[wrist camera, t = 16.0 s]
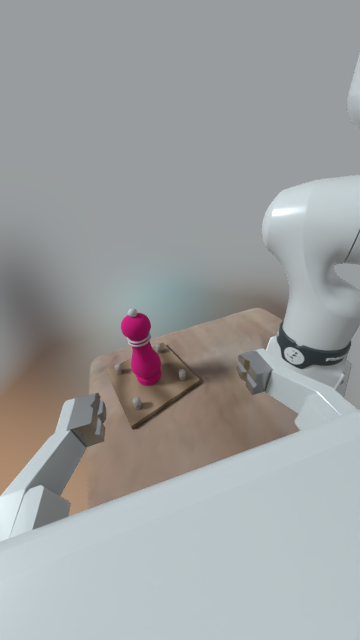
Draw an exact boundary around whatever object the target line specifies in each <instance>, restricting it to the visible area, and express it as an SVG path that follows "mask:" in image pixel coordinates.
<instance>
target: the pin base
mask: <svg viewBox="0 0 360 640" xmlns="http://www.w3.org/2000/svg"><path fill="white" fill-rule="evenodd" d="M153 349H154V350H155V351H156V352H157V353H158V355H159V357H160V360H161V367H160V369H161V377H160V379H159V380H158V381H157V382H156V383H155V384H153V385H149V386H145V385H142V384H140V383H139V382H138V380H137V377H136V375H135V374H134V373H133V371H132V368H131V359H132V358H131V359H129V360H127V361H125V362H123V363H121V364H116V365H115V367H113V368H111V369H109V370H107V371H106V372H107V374H108V376H109V378H110V381H111V383H112V385H113V387H114V390H115V392H116V394H117V396H118V398H119V401H120V403H121V405H122V407H123V410H124V412H125V414H126V416H127V418H128V421H129V423H130V425H131V427H132V429H134V428H135V427H137V426H138V425H140V424H141V423H142V422H144V421H145V420H147V419H148V418H150V417H151V416H153V415H154V414H155V413H157V412H158V411H160V410H161V409H163V408H164V407H166V406H167V405H169V404H170V403H171V402H173V401H174V400H176V399H177V398H179V397H180V396H182V395H183V394H184V393H186V392H187V391H189V390H190V389H192V388H193V387H195V386H196V385H197V384H199V383H200V380H199V379H198V378H197V377H196V376H195V375H194V374H193V373H192V372H191V370H190V369H189V368H188V367H187V366H186V365H185V364H184V363H183V362H182V361H181V360H180V359H179V358H178V357H177V356H176V355H175V354H174V353H173V352H172V351H171V350H170V349H169V348H168V347H167V346H166V345H165V344H164V343H161V344H156V345H155V347H153Z"/></svg>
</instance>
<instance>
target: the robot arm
mask: <svg viewBox="0 0 360 640" xmlns="http://www.w3.org/2000/svg"><path fill="white" fill-rule="evenodd" d="M347 110H348V115H349V118H350V120H351V121H352V123H353V124H354V125H355V126H357V127H358V128H360V54H359V57H358V61H357V65H356V68H355V72H354V75H353V79H352V83H351V86H350V90H349V94H348V99H347ZM262 238H263V241H264V244H265V246H266V248H267V249H268V251H270V252H271V253H272V254H273V255H274V256H275V257H276V258H277V259H278V261H279V262H280V263H281V265H282V266H283V268H284V270H285V272H286V275H287V278H288V282H289V288H290V295H289V301H288V306H287V311H286V315H285V319H284V320H283V321H282V323H281V325H280V327H279V329H278V333H277V335H276V336H274V337H271V339H270V341H269V343H268V346H267V349H266V351H265V350H264V349H258V350H255V351H250V352H247V353H243V354H240V355H239V356H238V360H239V363H238V364H237V372H238V374H239V376H240V378H241V379H242V380H244V381H246V387H247V388H248V390H249V391H250V393H251V394H252V395H254V394H257V393H261V392H265V391H266V393H268V394H269V395H271V396H272V397H274V398H275V399H277V400H278V401H280V402H281V403H283V404H284V405H286V406H287V407H289V408H290V409H292V410H294V411H295V412H297V413H298V416H297V418H296V419H295V424H296V425H297V427H298V428H299V429H300V430H301V431H298V432H296V433H293V434H290V435H288V436H285V437H282V438H279V439H277V440H274V441H271V442H269V443H266V444H263V445H261V446H258V447H255V448H252V449H250V450H247V451H244V452H242V453H239V454H236V455H234V456H231V457H228V458H225V459H223V460H220V461H217V462H215V463H212V464H209V465H206V466H204V467H201V468H198V469H196V470H193V471H190V472H188V473H185V474H182V475H179V476H177V477H174V478H171V479H169V480H166V481H163V482H161V483H158V484H155V485H152V486H150V487H147V488H144V489H142V490H139V491H136V492H133V493H131V494H128V495H125V496H123V497H120V498H117V499H115V500H112V501H109V502H106V503H104V504H101V505H98V506H96V507H93V508H90V509H88V510H85V511H82V512H79V513H77V514H74V515H71V516H69V510H70V502H69V501H68V500H66V499H64V498H62V497H61V496H60V495H61V493H62V492H63V490H64V488H65V486H66V484H67V482H68V481H69V479H70V477H71V475H72V474H73V472H74V470H75V468H76V467H77V465H78V463H79V461H80V459H81V458H82V456H83V454H84V452H85V450H86V447H89V446H92V445H95V444H98V443H101V442H104V436H105V427H104V425H103V423H104V421H105V420H106V407H105V404H104V402H103V401H101V400H100V395H99V393H95V394H91V395H87V396H83V397H79V398H74V399H71V400H67V401H66V402H65V403H64V405H63V408H62V411H61V415H60V418H59V421H58V425H57V428H56V431H55V434H54V435H52V436H50V438H49V439H48V440H47V441H46V442H45V444H44V445H43V446H42V447H41V448H40V449H39V451H38V452H37V453H36V454H35V456H34V457H33V458H32V459H31V460H30V461H29V463H28V464H27V465H26V466H25V468H24V469H23V470H22V471H21V472H20V473H19V475H18V476H17V477H16V478H15V479H14V481H13V482H12V483H11V484H10V485H9V486H8V488H7V489H6V490H5V491H4V493H3V494H2V495H1V496H0V640H360V409H358V410H357V409H356V408H355V407H354V406H353V405H351V404H350V403H349V402H348V401H347V400H346V399H345V398H344V394H345V389H346V386H347V382H348V378H349V373H350V369H351V363H350V362H348V361H347V360H346V358H347V354H348V352H349V349H350V346H351V339H352V337H353V335H354V334H355V332H356V331H357V329H358V327H359V325H360V291H359V290H358V289H357V288H356V287H354V286H353V285H351V284H350V283H348V282H346V281H345V280H343V279H341V278H340V277H339V276H338V275H337V274H336V273H335V271H334V266H335V265H336V264H343V263H349V264H360V175H353V176H345V177H335V178H326V179H318V180H315V181H311V182H307V183H304V184H300V185H297V186H294V187H291V188H288V189H285V190H283V191H281V193H279V194H278V195H277V196H276V198H275V199H274V200H273V201H272V203H271V204H270V206H269V207H268V209H267V211H266V213H265V216H264V219H263V223H262ZM68 516H69V517H68Z"/></svg>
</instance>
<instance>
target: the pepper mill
mask: <svg viewBox="0 0 360 640" xmlns="http://www.w3.org/2000/svg"><path fill="white" fill-rule="evenodd" d="M150 328H151V324H150V321H149V319H148V317H147V316H145V315H144V314H142V313H137V311H136V309H133V308H131V309H129V311H128V316H126V317H125V318H124V319H123V321H122V323H121V329H122V332H123V334H124V335H125V336H126V337H127V340H128V343H129V345H131V346H132V349H133V355H132V359H131V368H132V371H133V373H134V374H135V375H136V377H137V380H138V382H139V383H140V384H142V385H145V386H149V385H153V384H155V383H156V382H157V381H158V380H159V379H160V377H161V369H160V367H161V360H160V357H159V355H158V353H157V352H156V351H155V350H154V349H153V348H152V347H151V344H150V339H151V335H150V332H149V331H150Z"/></svg>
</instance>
